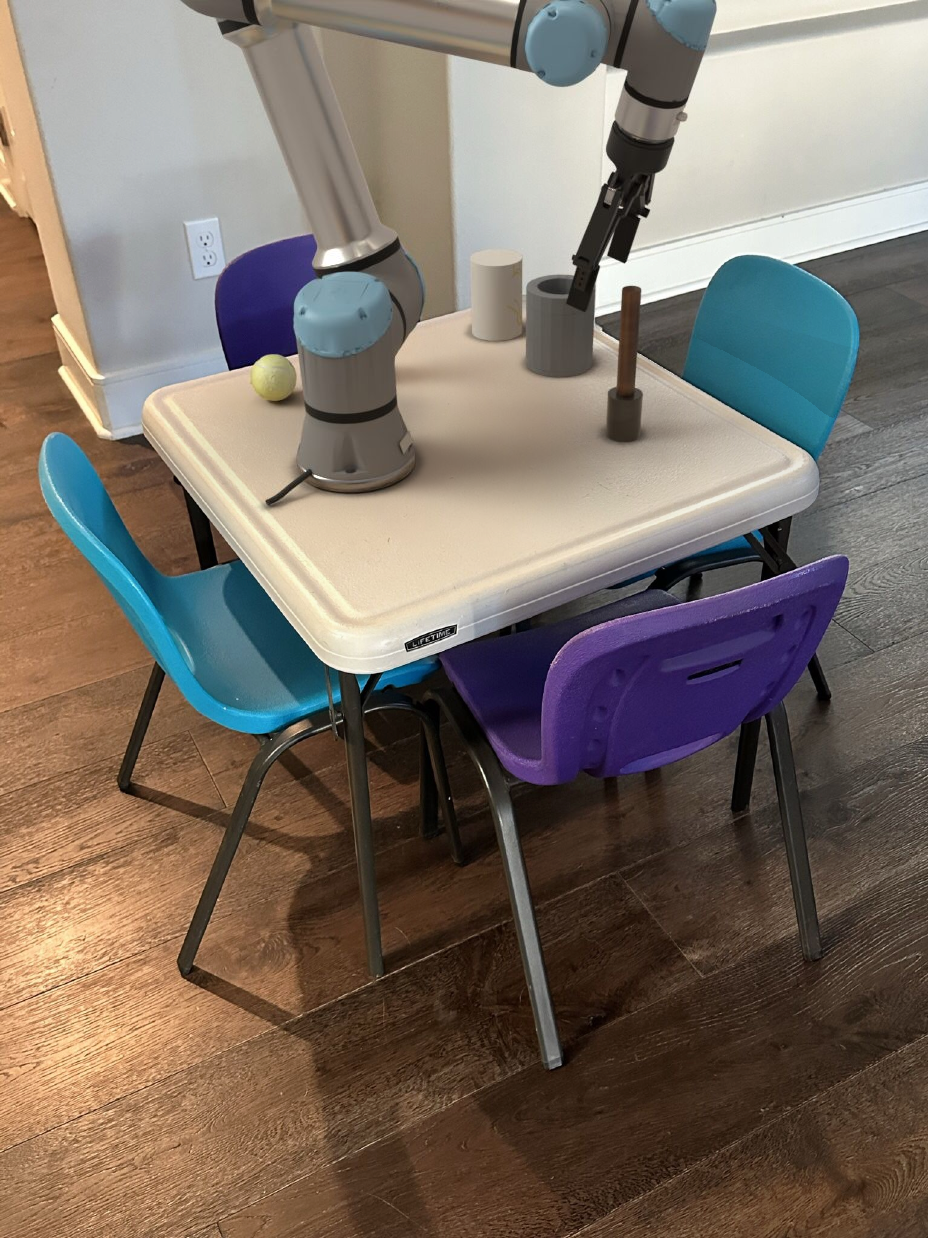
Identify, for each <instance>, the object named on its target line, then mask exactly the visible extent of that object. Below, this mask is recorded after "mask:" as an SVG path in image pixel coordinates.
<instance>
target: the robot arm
mask: <svg viewBox="0 0 928 1238" xmlns="http://www.w3.org/2000/svg"><path fill="white" fill-rule="evenodd" d="M179 1H180V2H182V3H183V4H184V5H185V6H187V7H188V8H189V9H191V10H193V11H194V12H196V13H198V14H201V15H202V16H206V17H210V18H214V19H215V22H216V24H217V26H218V29H219V31H220V33H221V36H222V38H223V39H225V40H227V41H229V42H230V43H232V44H234V45H236V46H238V47H239V49H241V51H242V54H243V58H244V60H245V62H246V64H247V67H248V69H249V70H248V71H249V72H250V75H251V78H252V80H253V82H254V86H255V88H256V90H257V93H258V95H259V98H260V100H261V103H262V105H263V108H264V111H265V114H266V117H267V119H268V121H269V124H270V127H271V130H272V133H273V134H274V137H275V140H276V142H277V145H278V147H279V150H280V152H281V155H282V158H283V160H284V162H285V165H286V167H287V170H288V173H289V175H290V178H291V181H292V184H293V186H294V188H295V190H296V194H297V197H298V199H299V202H300V204H301V207H302V209H303V212H304V215H305V217H306V220H307V222H308V225H309V227H310V230H311V233H312V235H313V238H314V241H315V243H316V246H317V247H316V252H315V253H314V257H313V259H312V261H311V266H312V268H313V271H314V273H315V276H316V278H315V279H312V280H311V281H310V282H307V284H305V285H304V286H303V287H302V288H301V289H300V290H299V291H298V293H297V294H296V296H295V299H294V303H293V313H294V314H293V331H294V334H295V339H296V340H295V341H296V347H297V356H298V363H299V371H300V380H301V389H302V395H303V402H304V411H305V413H304V420H303V424H302V430H301V435H300V442H299V444H298V448H297V451H296V465H297V472H298V474H299V476H297V477H296V478H294V480H292V481H290V482H289V483H288V484H287V485H286V486H285V487H283V488H282V489H281V490H280V491H278V493H276V494H275V495H273V496H271V497H269V498H267V499H265V504H266V505H267V506H270V505H273V504H275V503H278V502H279V501H280V500H281V499H283V498H284V497H285V496H287V495H288V494H290V492H292V490H294V489H295V488H297V487H298V486H300V484H302V483H303V482H304V481H305V482H306V483H308V484H309V485H311V486H313V487H316V488H318V489H322V490H326V491H330V492H336V493H337V492H338V493H362V492H370V491H374V490H375V491H376V490H379V489H383V488H386V487H389V486H391V485H394V484H396V483H398V482H400V481H401V480H403V479H404V478H406V477H407V476H408V475H409V474H410V473H411V472H412V471H413V469H414V468H415V465H416V455H415V454H416V451H415V450H416V449H415V445H414V439H413V436H412V433H411V431H410V430H408V428H407V425H406V423H405V421H404V418H403V415H402V414H401V411H400V408H399V405H398V392H397V378H396V377H397V376H396V375H397V374H396V357H397V355H398V353H399V351H400V350H401V348H402V347H403V345H404V343H405V342H406V341H407V339H408V338H409V336H410V334H411V333H412V332H413V331H414V330H415V328H416V327H417V325H418V323H419V321H420V320H421V317H422V315H423V310H424V306H425V303H426V282H425V279H424V275H423V272H422V270H421V268H420V266H419V264H418V263H417V262H416V260H415V259H414V258H413V257H412V256H411V255H410V254H409V253H406V252H405V251H404V250H403V247H402V244H401V241H400V238H399V236H398V233H397V231H396V230H394V229H392V228H391V227H388V226H386V225H385V224H383V223H382V222H381V220H380V217H379V215H378V211H377V209H376V206H375V202H374V201H373V197H372V194H371V191H370V189H369V186H368V183H367V180H366V177H365V174H364V172H363V169H362V166H361V163H360V161H359V157H358V155H357V152H356V149H355V146H354V144H353V141H352V138H351V135H350V132H349V130H348V126H347V123H346V121H345V118H344V115H343V112H342V109H341V106H340V104H339V101H338V98H337V95H336V92H335V89H334V86H333V84H332V81H331V78H330V75H329V72H328V70H327V67H326V64H325V61H324V58H323V56H322V53H321V50H320V47H319V44H318V41H317V39H316V36H315V35H316V34H315V33H314V30H313V27H317V28H322V29H325V30H326V29H327V30H332V31H336V32H341V33H345V34H351V35H355V36H359V37H363V38H364V37H365V38H368V39H374V40H379V41H383V42H387V43H393V44H397V45H398V44H399V45H403V46H407V47H411V48H417V49H421V50H427V51H432V52H436V53H440V54H446V55H450V56H454V57H460V58H465V59H468V60H474V61H479V62H484V63H487V64H491V65H492V64H493V65H497V66H502V67H506V68H511V69H516V70H518V71H524V72H527V73H532V74H535V76H536V77H537V78H538V79H539V80H541V81H542V82H544V83H545V84H547V85H550V86H553V87H557V88H566V87H567V88H568V87H572V86H575V85H577V84H579V83H581V82H583V81H584V80H586V79H587V78H588V77H590V76H591V75H592V74H593V73H595V72H596V70H597V69H598V68H599V66H600V65H601V64H602V65H606V66H610V67H613V68H614V69H618V70H619V69H620V70H624V71H626V76H625V79H624V82H623V85H622V89H621V91H620V95H619V99H618V102H617V104H616V105H617V106H616V109H615V112H614V121H613V122H612V124H611V127H610V131H609V135H608V138H607V141H606V145H605V153H606V156H607V158H608V159H609V161H611V162H612V164H613V166H614V167H615V169H616V170H614V171H611V172H610V174H609V176H608V179H607V181H606V182H604V183H603V185H602V186H601V187H600V192H599V195H598V198H597V201H596V203H595V207H594V209H593V211H592V214H591V216H590V218H589V221H588V224H587V226H586V228H585V231H584V233H583V236H582V238H581V241H580V243H579V246H578V248H577V251H576V252H575V254H572V256H571V261H572V263H571V264H572V265H573V266H575V271H574V274H573V275H574V277H573V281H572V284H571V288H570V291H569V295H568V298H567V302H566V304H568V305H570V306H572V307H574V308H576V309H578V310H581V311H583V312H586V310H587V309H588V305H589V302H590V299H591V296H592V292H593V289H594V286H595V285H596V282H597V279H598V276H599V273H600V270H601V265H600V263H601V260H602V258H603V256H604V254H605V251H606V250H607V248H608V245H609V248H608V251H607V253H606V257H609V258H611V259H613V260H616V261H618V262H619V263H622V264H624V265H625V264H626V263H627V262H628V259H629V256H630V253H631V250H632V247H633V244H634V241H635V238H636V235H637V232H638V229H639V226H640V222H641V220H642V218H645V219H647V218H648V217H649V215H650V214H651V213H650V212H651V209H650V208H648V207H646V206H649V204H651V202H652V196H653V191H654V190H653V189H654V184H655V179H656V174H658V173H660V172H662V171H663V170H664V169H665V168H666V167H667V165H668V162H669V159H670V156H671V153H672V150H673V148H674V145H675V136H676V135H677V133H678V132H679V128H680V124H681V123H684V122H687V120H688V113H686V112H684V110H685V108H686V107H687V103H688V101H689V98H690V95H691V92H692V89H693V87H694V84H695V81H696V78H697V76H698V72H699V70H700V67H701V64H702V61H703V58H704V55H705V52H706V49H707V47H708V43H709V38H710V36H711V32H712V28H713V24H714V21H715V19H716V14H717V11H718V9H717V7H718V6H717V1H716V0H179ZM639 216H640V217H639Z"/></svg>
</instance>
